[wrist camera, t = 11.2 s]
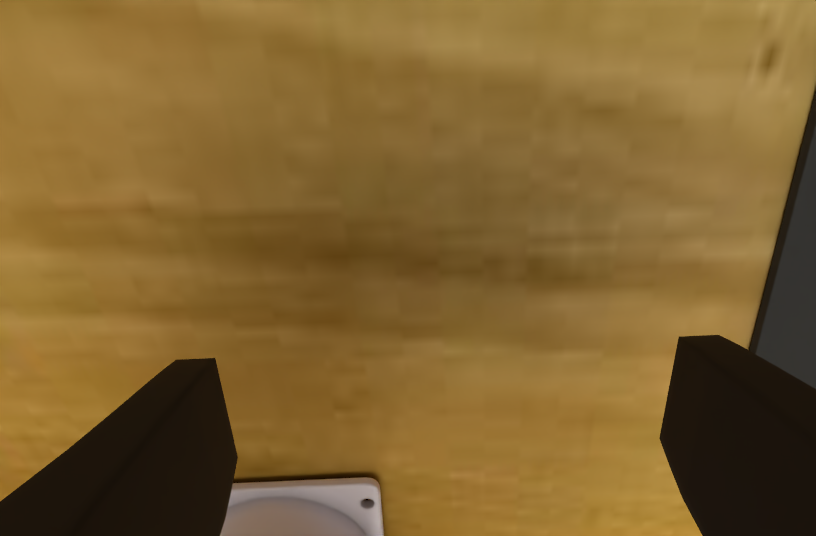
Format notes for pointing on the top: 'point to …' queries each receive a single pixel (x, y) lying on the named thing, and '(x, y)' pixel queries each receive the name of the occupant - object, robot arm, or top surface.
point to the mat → (793, 276)
